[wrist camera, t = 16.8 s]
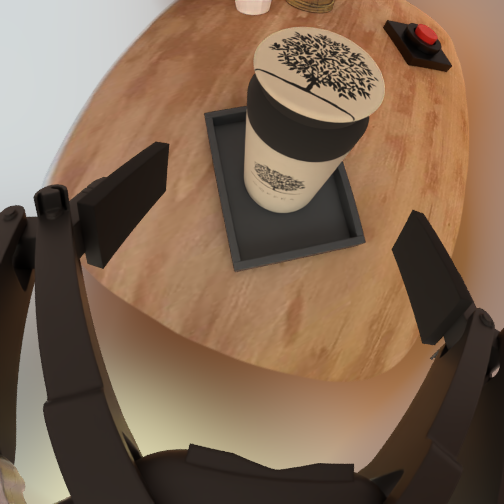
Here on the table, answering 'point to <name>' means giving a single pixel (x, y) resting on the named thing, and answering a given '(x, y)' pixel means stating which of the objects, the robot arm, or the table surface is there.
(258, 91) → the travel mug
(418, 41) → the control block
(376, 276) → the table surface
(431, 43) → the button
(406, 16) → the table surface
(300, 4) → the wooden mug
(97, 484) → the robot arm
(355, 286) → the table surface
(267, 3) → the white cup
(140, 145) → the table surface
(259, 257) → the tray
